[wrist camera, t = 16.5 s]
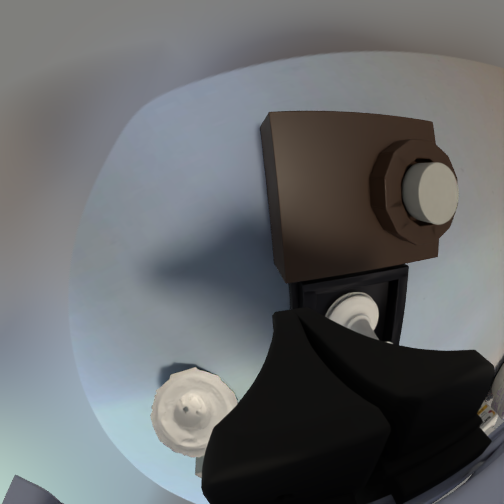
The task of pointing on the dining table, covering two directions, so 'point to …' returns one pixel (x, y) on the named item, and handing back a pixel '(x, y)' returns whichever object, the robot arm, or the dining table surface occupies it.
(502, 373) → the paper bowls
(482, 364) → the robot arm
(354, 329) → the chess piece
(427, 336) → the dining table surface
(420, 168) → the button
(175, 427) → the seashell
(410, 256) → the brown push button box
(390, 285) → the pan
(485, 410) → the container
